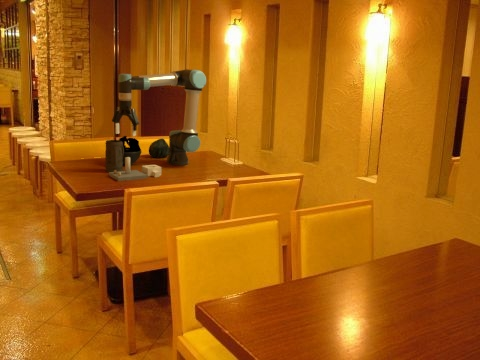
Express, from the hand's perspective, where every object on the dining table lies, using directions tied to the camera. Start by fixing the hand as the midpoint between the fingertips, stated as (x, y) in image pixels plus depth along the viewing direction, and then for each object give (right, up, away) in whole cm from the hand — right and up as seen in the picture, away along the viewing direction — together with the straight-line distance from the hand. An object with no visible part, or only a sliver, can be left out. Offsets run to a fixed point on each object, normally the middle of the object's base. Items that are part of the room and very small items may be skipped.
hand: (125, 134), depth 304 cm
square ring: (+16, -25, +4) cm, 30 cm away
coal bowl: (-7, -17, +32) cm, 37 cm away
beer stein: (-9, -22, +12) cm, 27 cm away
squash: (+11, -11, +62) cm, 64 cm away
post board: (+2, -26, -4) cm, 26 cm away
